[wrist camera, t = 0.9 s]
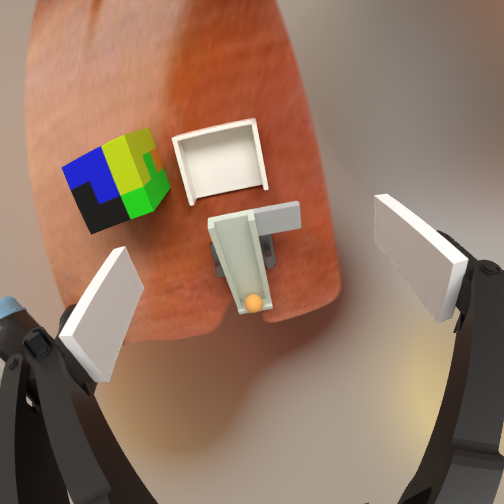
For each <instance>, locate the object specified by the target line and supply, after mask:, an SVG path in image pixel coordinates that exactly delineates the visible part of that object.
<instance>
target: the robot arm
mask: <svg viewBox="0 0 504 504" xmlns="http://www.w3.org/2000/svg"><path fill="white" fill-rule="evenodd" d="M374 203H375V204H374V205H375V239H374V241H375V242H374V243H375V244H376V245H377V246H378V247H379V249H380V250H381V251H382V252H383V253H384V255H385V256H386V257H387V258H388V259H389V261H390V262H391V263H392V264H393V266H394V267H395V268H396V269H397V270H398V272H399V273H400V274H401V275H402V277H403V278H404V279H405V280H406V282H407V283H408V284H409V286H410V287H411V288H412V289H413V291H414V292H415V293H416V295H417V296H418V297H419V299H420V300H421V301H422V303H423V304H424V305H425V307H426V308H427V309H428V311H429V312H430V314H431V315H432V316H433V318H434V319H435V321H436V322H437V323H440V322H443V321H446V320H448V319H450V318H452V316H453V313H454V310H455V307H457V308H458V309H459V311H460V312H461V313H460V315H459V318H458V321H457V324H456V326H455V329H454V333H456V339H455V345H454V352H453V357H452V362H451V367H450V372H449V376H448V380H447V385H446V389H445V393H444V397H443V400H442V404H441V407H440V410H439V414H438V417H437V420H436V423H435V426H434V430H433V432H432V435H431V438H430V441H429V444H428V446H427V448H426V451H425V454H424V456H423V458H422V461H421V464H420V466H419V468H418V470H417V472H416V474H415V476H414V477H413V479H412V480H411V481H410V483H409V484H408V486H407V487H406V489H405V491H404V493H403V494H402V496H401V498H400V500H399V502H398V503H397V504H493V501H494V498H495V495H496V493H497V490H498V487H499V483H500V480H501V477H502V473H503V469H504V456H502V455H501V454H500V453H499V450H498V449H499V443H500V438H501V433H502V428H503V422H504V270H502V269H501V268H500V267H499V265H497V264H496V263H494V262H492V261H489V260H479V261H478V260H477V259H475V258H474V257H473V256H472V255H471V254H470V253H469V252H468V251H466V250H465V249H464V248H463V247H462V246H460V244H458V243H457V242H455V241H454V239H452V238H451V237H450V236H449V235H447V234H445V233H443V232H441V231H439V230H437V231H435V230H434V229H433V228H432V227H430V226H429V225H427V223H425V222H424V221H423V220H422V219H420V218H419V217H418V216H416V215H415V214H414V213H413V212H411V211H410V210H409V209H407V208H406V207H404V206H403V205H402V204H400V203H399V202H398V201H396V200H395V199H393V198H392V197H391V196H389V195H388V194H382V195H376V196H374ZM143 289H144V287H143V284H142V282H141V280H140V278H139V276H138V274H137V271H136V269H135V267H134V265H133V262H132V260H131V258H130V256H129V253H128V251H127V249H126V246H124V247H120V248H116V249H113V251H112V252H111V254H110V255H109V256H108V258H107V259H106V261H105V262H104V264H103V265H102V267H101V268H100V270H99V271H98V273H97V274H96V276H95V277H94V279H93V280H92V282H91V283H90V285H89V286H88V288H87V289H86V291H85V292H84V294H83V296H82V297H81V299H80V300H79V302H78V303H77V304H74V305H70V306H69V307H67V308H66V309H65V311H64V313H63V314H62V316H61V319H60V326H59V331H58V335H57V336H56V338H55V340H54V339H53V338H52V337H51V336H50V335H49V334H48V333H47V331H46V330H45V329H44V328H43V327H41V326H40V325H39V324H38V323H37V322H36V321H35V320H34V319H33V317H32V316H31V315H30V314H29V313H28V312H27V310H26V309H25V308H24V307H22V306H21V305H20V304H19V303H18V302H17V301H16V299H15V298H13V297H12V296H6V297H4V298H2V299H1V300H0V504H70V502H69V497H68V493H67V490H68V492H69V494H70V497H71V499H72V501H73V503H74V504H158V503H157V502H156V500H155V499H154V498H153V496H152V495H151V493H150V492H149V491H148V489H147V488H146V487H145V485H144V484H143V482H142V481H141V479H140V478H139V476H138V475H137V473H136V472H135V470H134V469H133V467H132V465H131V464H130V462H129V461H128V459H127V457H126V456H125V454H124V452H123V451H122V449H121V447H120V445H119V444H118V442H117V441H116V438H115V437H114V435H113V433H112V431H111V429H110V427H109V425H108V424H107V421H106V420H105V418H104V415H103V413H102V411H101V409H100V407H99V405H98V403H97V401H96V398H95V396H94V392H95V389H96V386H97V383H98V382H109V381H110V378H111V375H112V372H113V369H114V366H115V363H116V360H117V357H118V354H119V352H120V349H121V346H122V343H123V341H124V338H125V335H126V332H127V330H128V327H129V324H130V322H131V319H132V317H133V314H134V312H135V309H136V307H137V304H138V302H139V299H140V297H141V294H142V292H143ZM456 331H457V332H456ZM26 396H27V397H28V398H29V399H30V400H31V401H32V407H31V406H30V405H29V404H28V403H27V401H26ZM366 504H369V503H366Z"/></svg>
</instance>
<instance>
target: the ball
mask: <svg viewBox="0 0 504 504" xmlns="http://www.w3.org/2000/svg"><path fill="white" fill-rule="evenodd" d="M244 305H245V308H246V309H247V310H248V311H249V312H252V313H256V312H258V311H260V310H261V309H262V307H263V300H262V298H261V297H260V296H259V295H257V294H251V295H249V296H247V297H246V299H245V301H244Z"/></svg>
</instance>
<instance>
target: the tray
mask: <svg viewBox="0 0 504 504" xmlns="http://www.w3.org/2000/svg"><path fill="white" fill-rule="evenodd" d="M172 141H173V145H174V149H175V153H176V156H177V160H178V164H179V168H180V171H181V175H182V179H183V183H184V186H185V190H186V193H187V197H188V200H189V204H190V206H192V205H194V204H195V201H196V199H197V198H200V197H204V196H209V195H213V194H218V193H223V192H227V191H232V190H237V189H242V188H247V187H252V186H257V185H263V188H264V190H269V189H268V184H267V178H266V173H265V167H264V162H263V156H262V151H261V146H260V141H259V135H258V130H257V125H256V120H255V118H251V119H245V120H240V121H235V122H230V123H225V124H221V125H216V126H212V127H208V128H203V129H199V130H195V131H191V132H188V133H184V134H180V135H177V136H175V137H173V138H172Z"/></svg>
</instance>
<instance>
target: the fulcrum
mask: <svg viewBox="0 0 504 504" xmlns="http://www.w3.org/2000/svg"><path fill="white" fill-rule="evenodd" d="M259 241H260V246H261V251H262V256H263V261H264V266H267V268H273V267H274V265H275V264H276V258H275V253H274V247H273V241H272V235H271V234H267V235H262V236H259ZM210 247H211V251H212V254H213V258H214V261H215V269H216V272H217V276H218V278H220V277H224V271H223V269H222V266H221V263H220V261H219V258H218V255H217V253H216V250H215V247H214V244H213V242H212V243H210Z"/></svg>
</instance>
